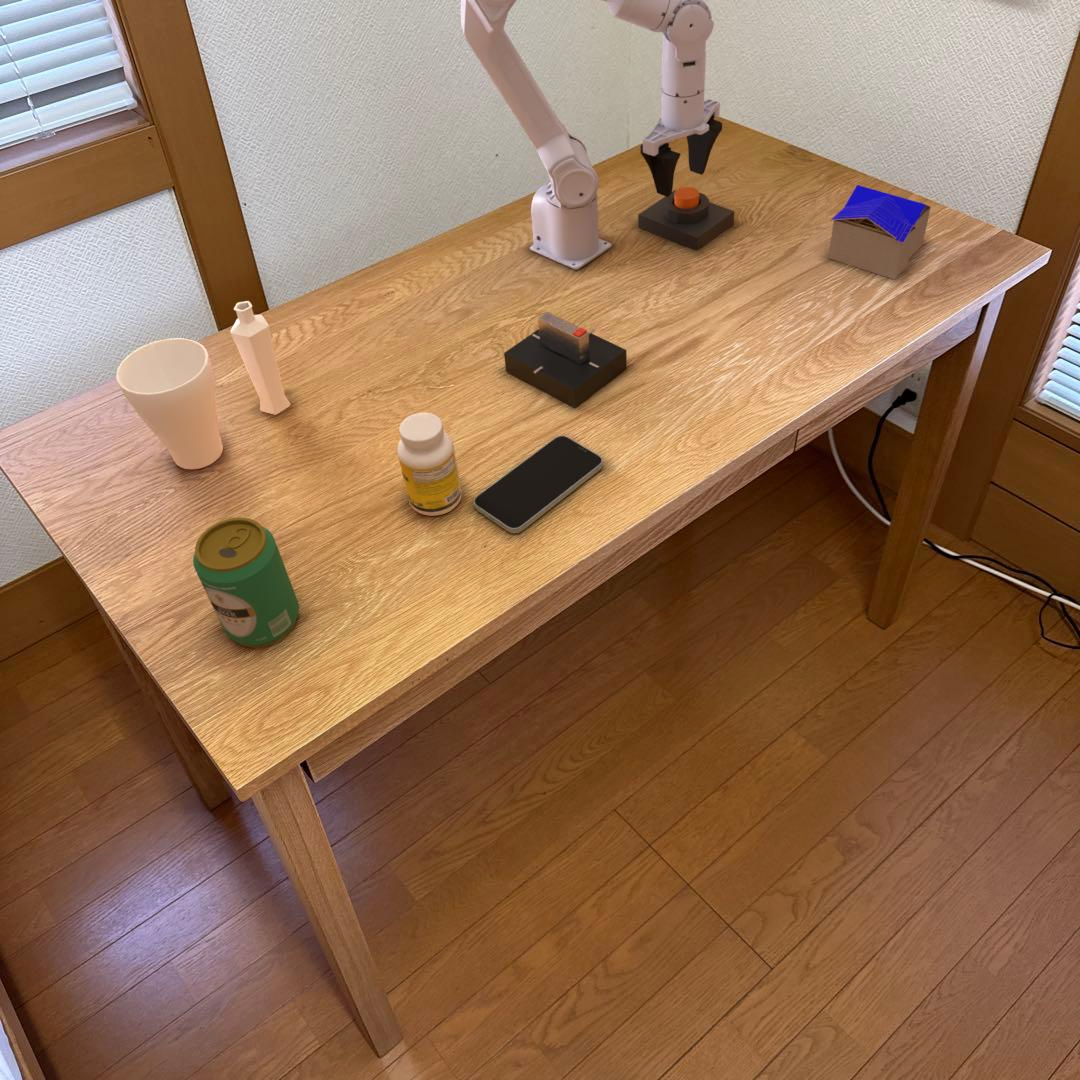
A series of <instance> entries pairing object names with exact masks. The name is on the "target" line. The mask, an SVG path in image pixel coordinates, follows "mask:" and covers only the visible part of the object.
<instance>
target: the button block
mask: <svg viewBox="0 0 1080 1080" xmlns="http://www.w3.org/2000/svg"><path fill="white" fill-rule="evenodd" d="M676 190H677V189H674V190H672V193H671V195H670V196H669V197H666V196H663V197H662V198H661V199H659V200H658V201H656V202H655V203H653V204H652V205H650V206H648V207H647V208H646V209H644V210H642V211H641V212H640V213H638V214H637V218H638V219H637V228H638V229H641V230H644V231H646V232H649V233H651V234H653V235H656V236H660V238H664V239H666V240H669V241H671V242H674V243H676V244H678V245H681V246H683V247H686V248H689V249H690V250H694V251H699V250H700V249H702V248H703V247H705V246H706V245H707V244H709V243H710V242H711V241H714V239H716V238H717V237H718V236H720V235H721V234H723V233H724V232H725V231H727V230H728V229H729V228H731V227H732V226H733V225H734V223H735V210H732V209H730V208H727V207H724V206H722V205H719V204H717V203H713V202H711V201H710V199H709V197H707V195H706V194H705V193H702V192H699V205H698V206H697V207H696V208H692V209H680V208H678V207H675V205H674V193H675V191H676Z"/></svg>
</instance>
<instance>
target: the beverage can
mask: <svg viewBox="0 0 1080 1080" xmlns="http://www.w3.org/2000/svg"><path fill="white" fill-rule="evenodd" d="M192 564H193V568H194V570H195V572H196V574H197V577H198V578H199V581H200V583H201V585H202V587H203V590H204V592H205V593H206V597H207V598H208V600H209V602H210V605H211V606H212V609H213V611H214V613H215V615H216V617H217V619H218V621H219V623H220V626H221V627H222V629H223V632H224V633H225V635H226V636H227V638H229V639H230V640H232V641H233V642H235V643H236V644H237V643H238V644H239V645H241V646H244V647H246V648H256V649H257V648H264V647H265V648H266V647H269V646H273V645H274V644H277V643H278V642H280V641H281V640H283V639H284V638H286V637H287V636H288V634H290V633H291V631H292V630H293V628H294V627H295V626H296V622H297V618H298V616H299V612H300V604H299V601H298V597H297V595H296V592H295V590H294V587H293V585H292V581H291V580H290V577H289V574H288V571H287V569H286V566H285V563H284V561H283V558H282V555H281V553H280V550H279V547H278V545H277V542H276V539H275V538H274V535H273V533H271V531H270V530H269V529H268V528H267V527H265V526H263V525H262V524H261V523H259V522H258V521H256V520H255V519H252V518H247V517H231V518H227V519H223V520H220V521H218V522H216V523H214V524H212V525H211V526H210V527H208V528H207V529H205V530H204V531H203V532H202V533H201V534H200V536H199V537H198V539H197V540H196V543H195V547H194V553H193V558H192Z"/></svg>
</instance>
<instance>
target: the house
mask: <svg viewBox="0 0 1080 1080" xmlns="http://www.w3.org/2000/svg"><path fill="white" fill-rule="evenodd" d="M931 208H932V207H931V206H930V205H927V204H926V203H923V202H919V201H915V200H912V199H908V198H905V197H901V196H898V195H893V194H891V193H887V192H884V191H881V190H877V189H873V188H870V187H866V186H864V185H863V186H862V185H859V184H857V185H856V186H855V187H854V189H853V191H852V193H851V195H850V196H849V198H848V200H847V202H846V203H845V205H844V207H843V208H842V209H841V210H840V211H838V213H836V214H835V215H834V216H833V217H832V218H831V219H830V221H833V223H832V229H831V235H830V236H831V237H830V243H829V250H828V256H827V257H828V258H827V259H830V260H831V261H832V260H833V261H835V262H836V261H837V262H838V263H842V264H845V265H849V266H851V267H855V268H858V269H861V270H863V271H867V272H869V273H873V274H875V275H879V276H882V277H885V278H889V279H892V280H896V279H897V277H899V275H900V274H902V273H903V271H904V270H906V268H907V267H908V266H909V262H910V259H911V258H912V256H913V255H915V254H916V252H918V250H919V249H920V248H921V247H922V246H923V243H924V239H925V234H926V230H927V226H928V221H929V218H930V217H929V216H930V212H931Z"/></svg>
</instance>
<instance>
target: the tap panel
mask: <svg viewBox="0 0 1080 1080" xmlns="http://www.w3.org/2000/svg"><path fill="white" fill-rule="evenodd" d="M588 332H589V351H590V358H589V359H588V360H586V361H585V362H584V363H582V364H581V365H580V364H578V363H576V362H574V361H572V360H570V359H568V358H566V357H564V356H562V355H561V354H559V353H557V352H555V351H553V350H551V349H549V348H547V347H545V346H543V345H541V344H540V336H539V328H538V329H536V330H535V331H534V332H532V333H531V334H529V335H527V336H526V337H525V338H523V339H522V340H521V341H519V342H518V343H516V344H515V345H513V346H512V347H510V348H509V349H508V350H506V351H505V352H504V353H503V358H504V365H505V366H504V367H505V372H506V373H507V374H509V375H512V376H514V377H515V378H517V379H518V380H521V381H523V382H525V383H526V384H529V385H530V386H532V387H534V388H536V389H537V390H539V391H542V392H543V393H545V394H547V395H549V396H551V397H553V398H555V399H556V400H559V401H560V402H563V403H564V404H566V405H568V406H570V407H572V408H573V409H576V408H578V407H579V406H580V405H582V404H583V403H584V402H585V401H587V400H588V399H590V398H591V397H592V396H593V395H594V394H596V393H597V392H598V391H600V390H601V389H602V388H604V387H605V386H606V385H608V384H610V382H611V381H612V380H614V379H615V378H616V377H618V376H619V375H620V374H622V373H623V372H624V371H626V370H627V366H628V365H627V349H625V348H623V347H621V346H619V345H616V344H614V343H613V342H611V341H609V340H607V339H604V338H602V337H600V336H599V335H596V334H594V332H595V329H593V328H592V329H590V330H589V331H588Z"/></svg>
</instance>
